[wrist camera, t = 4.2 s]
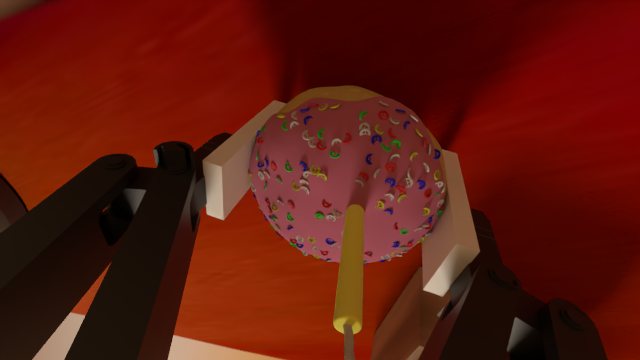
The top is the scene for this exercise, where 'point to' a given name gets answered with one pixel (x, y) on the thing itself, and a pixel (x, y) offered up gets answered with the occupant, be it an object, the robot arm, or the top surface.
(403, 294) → the block bottom
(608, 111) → the top surface
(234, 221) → the top surface
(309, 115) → the cupcake
